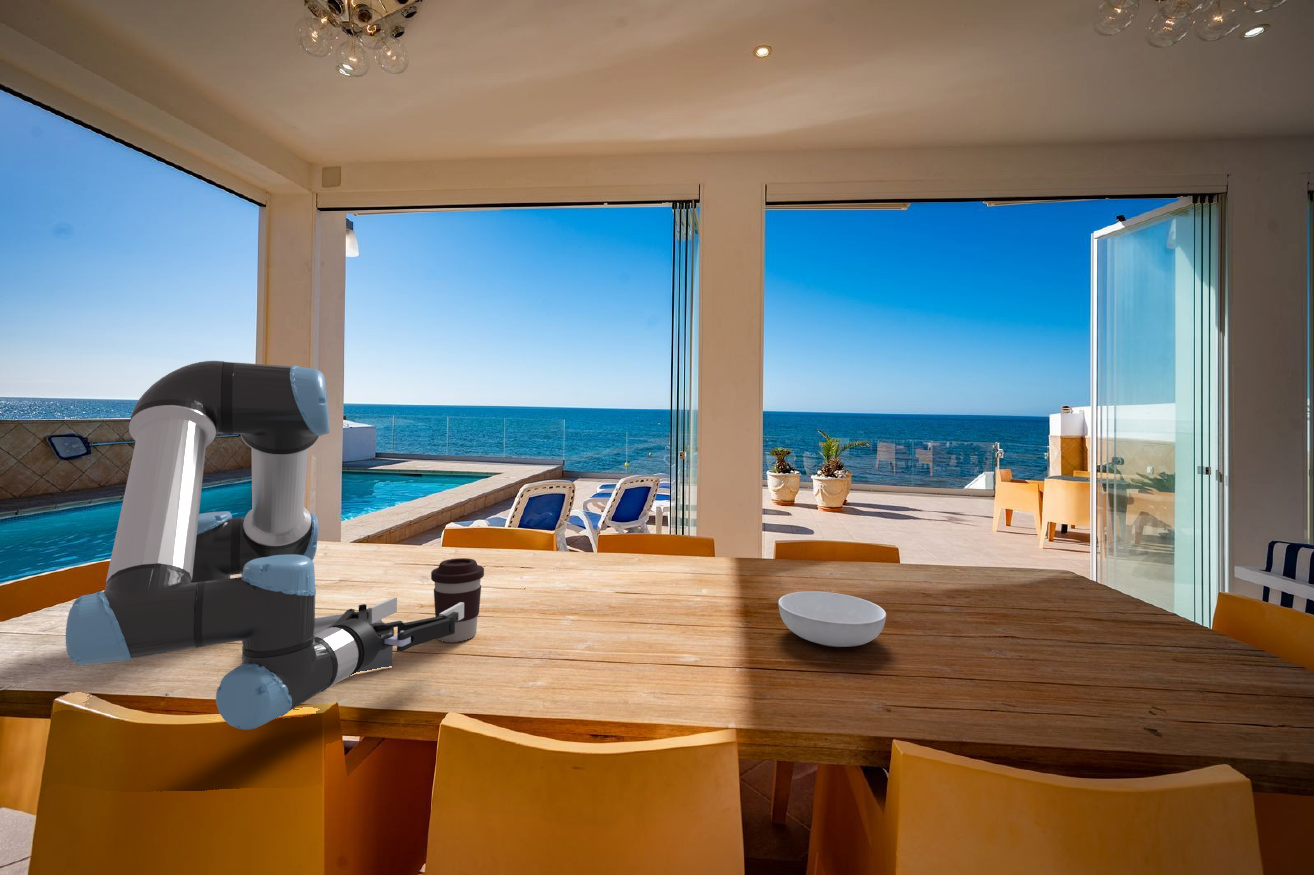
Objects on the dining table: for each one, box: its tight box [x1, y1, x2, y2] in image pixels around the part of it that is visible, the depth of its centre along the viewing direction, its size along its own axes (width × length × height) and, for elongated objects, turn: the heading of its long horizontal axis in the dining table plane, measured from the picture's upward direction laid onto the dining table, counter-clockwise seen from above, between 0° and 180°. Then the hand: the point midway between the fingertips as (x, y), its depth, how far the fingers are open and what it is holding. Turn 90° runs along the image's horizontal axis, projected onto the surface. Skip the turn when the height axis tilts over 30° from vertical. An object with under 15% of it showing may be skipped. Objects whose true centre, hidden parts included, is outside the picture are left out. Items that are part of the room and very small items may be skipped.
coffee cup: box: [430, 557, 485, 643], centre depth 109 cm, size 10×10×15 cm
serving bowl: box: [777, 590, 887, 648], centre depth 111 cm, size 21×21×7 cm
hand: (428, 607), depth 99 cm, fingers open, 13 cm apart
